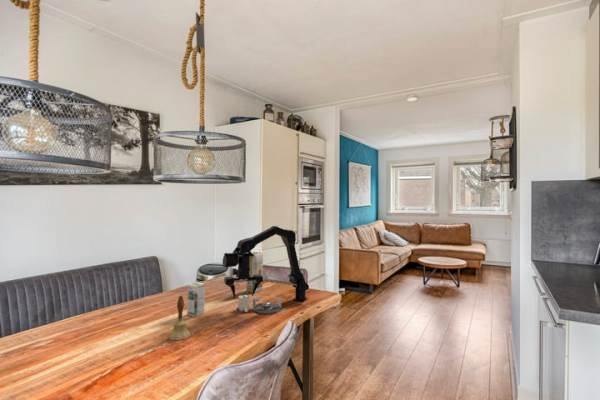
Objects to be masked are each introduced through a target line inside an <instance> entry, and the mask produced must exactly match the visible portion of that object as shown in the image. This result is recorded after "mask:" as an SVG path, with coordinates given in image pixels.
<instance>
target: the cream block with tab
mask: <svg viewBox="0 0 600 400" xmlns="http://www.w3.org/2000/svg"><path fill="white" fill-rule="evenodd" d="M237 298H238V301H237V303H238V304H237V308H239V309H240V311H242V310H244V311H245V312H244V313H247V312H248V313H249V311H248V310H249V307H250V297H249V295H247V294H245V295H238V297H237Z"/></svg>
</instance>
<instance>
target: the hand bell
mask: <svg viewBox="0 0 600 400" xmlns="http://www.w3.org/2000/svg"><path fill="white" fill-rule="evenodd" d="M176 306H177V307H176V308H177V312H178V313H177V314H178V315H177V321H175V322H174V323H173V328H172V329H173V330H172V332H171V333H170V334H169V336H168V339H169V340H171V341H182V340H186V339H189V338H190V337H191V335H192V333H191V332H190V331H189V329H188V328H187V327H188V326H187V322H186V320H183V319H184V318H183V311H184V307H185V299H184V297H183V295H179V296H178V299H177V304H176Z"/></svg>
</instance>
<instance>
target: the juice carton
mask: <svg viewBox="0 0 600 400" xmlns="http://www.w3.org/2000/svg"><path fill="white" fill-rule="evenodd" d="M252 254H254V256H250V277H253V275H256V274H260V275H261V276H262V277H263V275H264V274H263V272H264V271H263V268H264V266H263V265H264V263H263V262H264V253H263V252H260V251H259V250H255V251H252ZM263 278H264V277H263ZM245 282H246V285H245V286H246V287H245V291H246V292H249V293H252V285H253V284H252V281H245ZM262 290H263V282H261V284H259V285H258V287H257V288H256V290H255V293H257V292H260V291H262Z"/></svg>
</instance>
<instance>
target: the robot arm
mask: <svg viewBox="0 0 600 400" xmlns="http://www.w3.org/2000/svg"><path fill="white" fill-rule="evenodd" d="M275 235H277V236H278V237H281V240H282V242H283V244H284V245H285V248H286V253H287V257H288V261H289V267H290V273H289V274H288V281H289V282H290V284H291V285H292V287H293V288H295V293H294V295H295V297H293V299H292V300H293V301H295V302H296V301H297V302H302V303H303V302H305V301H306V300H309V297H306V296H307V294H306V293H307V291H308V290H309V288H310V285H309V284H308V283H307V282H306V278H305V276H304V274H303V272H302V271H301V269H300V265H299V260H298V256H297V251H296V246H295V245H296V241H297V238H296V237H297V236H296V232H295V231H294V230H291V229H286V228H281V227H279V226H276V225H272V226H271V227H269V228H267V229H265V230H264V231H261V232H260V233H258V234H256V235H254V236H252V237H251V236H250V237H247V238H244V239H240V240H239V241H238V242H237V245H236V247H235V248H234V249H233V251H232V252H224V253H223V254H224V255H223V256H222V261H221V262H222V266H223V268H232V267H233V268H232V269H231V270H232V271H231V272H232V273H231V274H232V276H225V277H224V279H223V283H224V284H225V286H228V287H230V290H231V293H232V294H231V295H232V296H233V298H234V299H235V298H236V286H235V283H241V282H246V281H252V284H253V285H252V292H251V296H252V297H254V296H255V293H256V292H255V290H256V288H257V287H258V285H259V284H261V282H262V283H263V282H264V277H262V276H261V275H260V274H256V275H253V277H250V256H254V254H252V253H253V251H252V250H253V249H254V248H255V247H256V246H257V245H259V244H260V243H262V242H264V241H266V240H268V239H270V238H271V237H273V236H275ZM234 267H237V268H234ZM233 276H235V277H236V278H235V277H233Z"/></svg>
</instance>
